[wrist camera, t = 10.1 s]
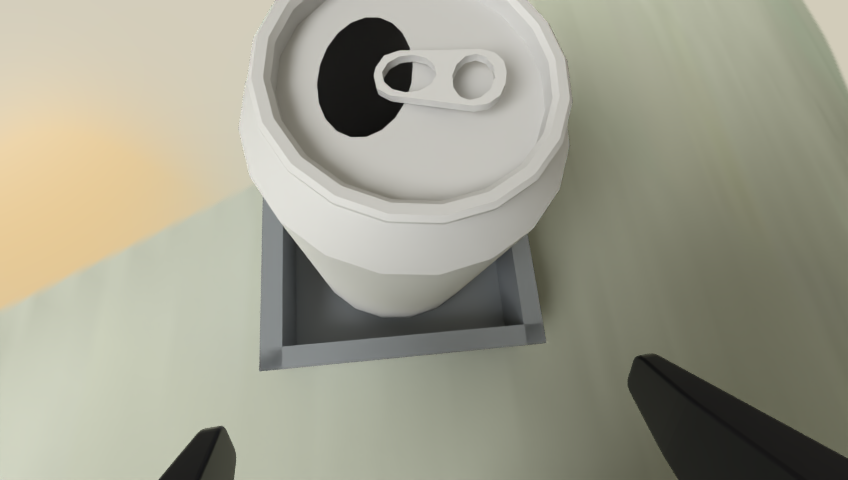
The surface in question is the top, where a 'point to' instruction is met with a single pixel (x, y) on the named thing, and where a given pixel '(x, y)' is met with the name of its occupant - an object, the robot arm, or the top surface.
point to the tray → (386, 337)
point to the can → (405, 139)
